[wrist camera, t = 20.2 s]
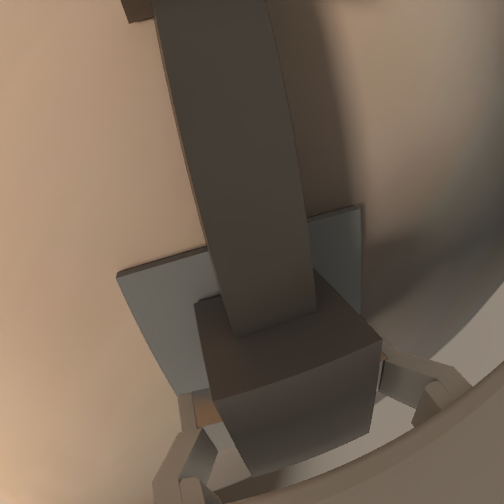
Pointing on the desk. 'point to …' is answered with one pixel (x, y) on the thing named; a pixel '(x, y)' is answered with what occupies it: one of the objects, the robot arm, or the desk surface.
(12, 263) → the desk surface
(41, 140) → the desk surface
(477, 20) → the desk surface
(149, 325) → the pad
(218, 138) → the grey long block-ended bar
